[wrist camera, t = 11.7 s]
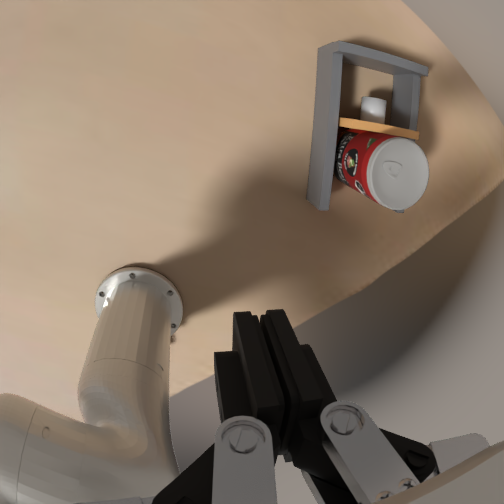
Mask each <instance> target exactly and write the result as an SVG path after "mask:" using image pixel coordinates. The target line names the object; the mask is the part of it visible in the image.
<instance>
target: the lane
mask: <svg viewBox="0 0 504 504" xmlns="http://www.w3.org/2000/svg"><path fill="white" fill-rule="evenodd" d="M342 63H347V64H352V65H356V66H361V67H365V68H369V69H373V70H377V71H381V72H384V73H388V74H392V75H394V77H393V93H392V106H391V118H390V126H394V127H399V128H404V129H409V130H413V131H416V129H417V119H418V108H419V95H420V78H421V76H428V67H426V66H423V65H421V64H418V63H415V62H412V61H409V60H407V59H404V58H401V57H397V56H394V55H391V54H388V53H385V52H381V51H378V50H374V49H371V48H367V47H363V46H359V45H355V44H351V43H347V42H343V41H337V42H332V43H330V44H327V45H325V46H322V47H320V48H318V60H317V78H316V93H315V108H314V121H313V134H312V146H311V157H310V168H309V178H308V188H307V197H306V200H308V201H309V202H310V203H311V204H312V205H313V206H315V207H316V208H317V209H318V210H329V203H330V195H331V187H332V179H333V170H334V161H335V151H336V141H337V130H338V119H339V106H340V92H341V76H342ZM389 135H390V134H389ZM394 136H395V135H394ZM398 137H401V136H398ZM402 138H406V137H402ZM406 139H408V140H411V141H413V142H415V139H411V138H406ZM393 211H395V212H397V213H404V209H403V210H393Z"/></svg>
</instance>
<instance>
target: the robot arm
mask: <svg viewBox="0 0 504 504" xmlns="http://www.w3.org/2000/svg"><path fill="white" fill-rule="evenodd" d="M133 273H134V274H133ZM169 290H171V291H169ZM95 309H96V313H97V316H98V318H99V320H98V323H97V326H96V328H95V331H94V334H93V338H92V341H91V344H90V347H89V350H88V353H87V356H86V360H85V363H84V367H83V370H82V373H81V377H80V381H79V384H78V402H79V407H80V411H81V414H82V416H83V419H84V421H85V423H86V424H85V423H83V422H80V421H78V420H75V419H72V418H70V417H67V416H65V415H63V414H60V413H58V412H55V411H53V410H51V409H49V408H46V407H44V406H42V405H39V404H37V403H35V402H33V401H31V400H28V399H26V398H23V397H21V396H18V395H15V394H9V393H4V394H0V504H277V494H276V482H275V469H274V467H275V463H276V459H277V456H278V455H283V456H284V459H285V462H291V461H293V464H294V466H295V467H297V468H299V469H301V472H302V475H303V477H304V479H305V481H306V483H307V484H308V487H309V488H310V490H311V492H312V494H313V496H314V497H315V499H316V501H317V503H318V504H504V441H502V442H499V443H497V444H494V445H492V446H489V443H488V442H487V440H486V438H484V437H483V436H482V435H480V434H476V433H473V434H467V435H463V436H459V437H454V438H450V439H445V440H441V441H435V442H430V444H429V445H424V444H422V443H419V442H417V441H414V440H411V439H408V438H405V437H402V436H399V435H397V434H394V433H391V432H388V431H386V430H383V429H380V428H378V427H377V425H376V424H375V423H374V421H373V420H372V419H371V418H370V416H369V415H368V413H367V412H366V411H365V410H364V409H363V408H362V407H361V406H359V405H357V404H356V403H353V402H349V401H337V400H336V398H335V396H334V394H333V392H332V390H331V387H330V385H329V383H328V381H327V379H326V377H325V375H324V373H323V371H322V369H321V367H320V365H319V363H318V361H317V358H316V357H315V354H314V353H313V350H312V348H311V347H310V345H308V344H305V345H300V344H299V342H298V340H297V338H296V335H295V333H294V331H293V329H292V326H291V324H290V322H289V320H288V318H287V315H286V313H285V311H284V310H283V309H278V310H267V311H266V315H261V317H260V323H259V320H258V317H257V315H252V314H251V312H250V311H247V312H234V314H233V346H232V351H226V352H214V370H215V383H216V392H217V398H218V406H219V413H220V420H221V425H220V426H219V427H218V429H217V431H216V435H215V443H214V444H213V445H212V446H211V447H209V448H208V449H207V450H206V451H205V452H204V453H203V454H202V455H201V456H200V457H199V458H198V459H197V460H196V461H195V462H194V463H192V464H191V465H190V466H189V467H188V468H187V469H186V470H184V471H183V472H182V473H181V474H180V470H179V467H178V464H177V460H176V457H175V453H174V449H173V445H172V438H171V432H170V419H169V368H170V337H171V335H173V334H174V333H175V331H176V330H177V329H178V327H179V325H180V324H181V320H182V317H183V304H182V300H181V296H180V294H179V292H178V290H177V289H176V287H175V286H174V285H173V284H172V283H171V282H170V281H169V280H168V279H167V278H166V277H164V276H163V275H161V274H159V273H157V272H155V271H152V270H150V269H146V268H141V267H128V268H122V269H119V270H117V271H114V272H113V273H111V274H109V275H108V276H107V277H106V278H105V279H104V280H103V281H102V283H101V284H100V286H99V288H98V290H97V292H96V297H95Z"/></svg>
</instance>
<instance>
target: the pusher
mask: <svg viewBox="0 0 504 504" xmlns="http://www.w3.org/2000/svg"><path fill="white" fill-rule="evenodd" d="M385 113H386V100H383V99H378V98H373V97H362V102H361V115H360V120H356V119H348V118H339V119H338V126H341V127H347V128H353V129H360V130H367V131H373V132H379V133H384V134H390V135H395V136H401V137H406V138H411V139H416V140H419V132H417V131H413V130H409V129H404V128H399V127H394V126H389V125H384V124H385Z"/></svg>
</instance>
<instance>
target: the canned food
mask: <svg viewBox="0 0 504 504" xmlns="http://www.w3.org/2000/svg"><path fill="white" fill-rule="evenodd" d="M333 174H334V175H335V176H336V178H337V179H338V180H340V181H341V182H342V183H344V184H346V185H348V186H349V187H351V188H353V189H355V190H356V191H358V192H360V193H362V194H363V195H365V196H367V197H368V198H370V199H372V200H373V201H375V202H377V203H378V204H380V205H382V206H384V207H387V208H389V209H392V210H403V209H406V208H409V207H411V206H412V205H414V204H415V203H416V202H417V201H418V200H419V199H420V198H421V197H422V195H423V193H424V192H425V190H426V187H427V184H428V179H429V165H428V161H427V158H426V155H425V154H424V152H423V150H422V149H421V148H420V147H419V146H418V145H417V144H416V143H415V142H413V141H411V140H408V139H406V138H402V137H398V136H394V135H389V134H384V133H379V132H373V131H367V130H360V129H349V130H346V131H344V132H342V133H340V134H339V135H338V136H337V141H336V151H335V161H334V170H333Z"/></svg>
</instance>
